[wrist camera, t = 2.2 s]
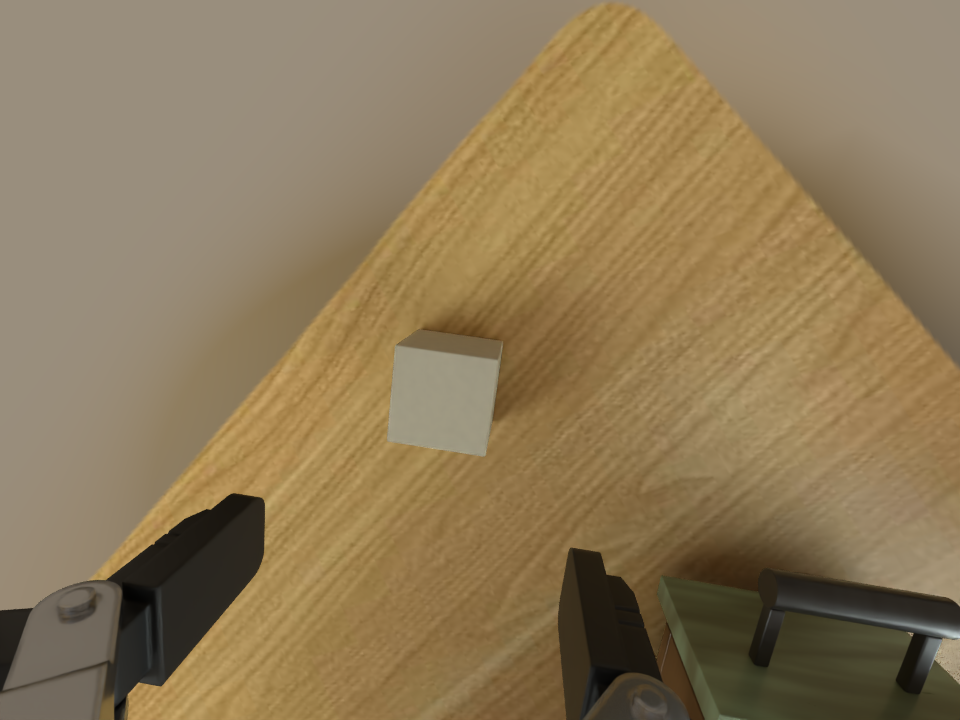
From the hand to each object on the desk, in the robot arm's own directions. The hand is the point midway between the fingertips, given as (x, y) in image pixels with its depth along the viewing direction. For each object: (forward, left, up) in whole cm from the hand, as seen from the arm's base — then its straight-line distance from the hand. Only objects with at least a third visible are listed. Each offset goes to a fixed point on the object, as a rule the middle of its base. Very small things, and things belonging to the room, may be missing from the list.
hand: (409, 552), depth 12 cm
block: (0, -1, -13) cm, 13 cm away
